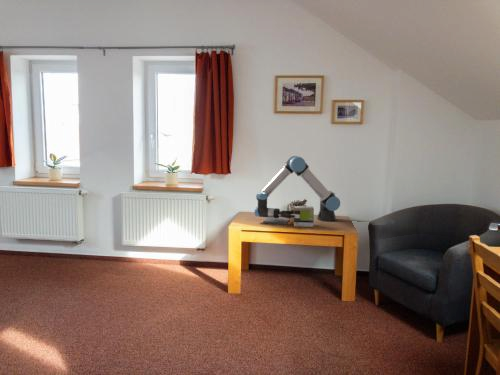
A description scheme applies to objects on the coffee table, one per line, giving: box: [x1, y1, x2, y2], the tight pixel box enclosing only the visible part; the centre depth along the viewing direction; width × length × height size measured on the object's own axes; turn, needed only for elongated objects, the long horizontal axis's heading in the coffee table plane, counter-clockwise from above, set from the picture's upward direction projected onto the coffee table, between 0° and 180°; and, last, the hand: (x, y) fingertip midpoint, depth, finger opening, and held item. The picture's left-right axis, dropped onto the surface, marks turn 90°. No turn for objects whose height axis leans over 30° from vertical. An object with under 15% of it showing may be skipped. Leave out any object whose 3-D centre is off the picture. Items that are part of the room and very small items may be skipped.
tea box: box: [293, 205, 315, 228], centre depth 309 cm, size 15×10×15 cm, turn 84°
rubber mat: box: [263, 217, 290, 225], centre depth 323 cm, size 18×18×1 cm
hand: (300, 214), depth 309 cm, fingers open, 13 cm apart
